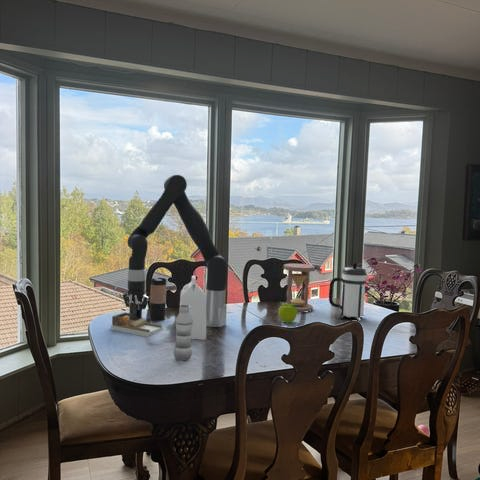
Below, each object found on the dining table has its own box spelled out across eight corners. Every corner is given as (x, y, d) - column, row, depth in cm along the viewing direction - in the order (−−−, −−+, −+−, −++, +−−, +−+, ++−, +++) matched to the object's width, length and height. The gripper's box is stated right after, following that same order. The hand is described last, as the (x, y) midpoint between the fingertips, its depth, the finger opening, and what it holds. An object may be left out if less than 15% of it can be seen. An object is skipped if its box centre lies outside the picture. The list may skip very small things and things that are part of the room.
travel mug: (162, 321, 223) (163, 280, 221) (147, 320, 224) (148, 279, 223) (167, 318, 230) (168, 278, 229) (153, 316, 232) (154, 277, 230)
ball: (126, 313, 213) (125, 322, 213) (120, 315, 209) (119, 324, 210) (133, 315, 211) (132, 324, 212) (127, 317, 207) (126, 326, 208)
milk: (206, 339, 198) (208, 279, 196) (178, 339, 196) (180, 278, 194) (203, 331, 210) (205, 274, 208) (178, 331, 208) (179, 274, 206)
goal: (134, 322, 214) (134, 314, 214) (122, 326, 206) (122, 317, 206) (124, 320, 216) (124, 312, 216) (112, 324, 208) (112, 316, 208)
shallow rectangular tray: (163, 330, 209) (163, 324, 209) (147, 336, 198) (147, 330, 198) (127, 323, 218) (127, 318, 217) (110, 329, 207) (110, 323, 207)
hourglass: (302, 305, 274) (304, 263, 272) (318, 311, 258) (321, 267, 256) (276, 306, 267) (278, 263, 265) (291, 313, 251) (293, 268, 249)
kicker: (144, 324, 210) (145, 302, 210) (134, 328, 204) (135, 305, 203) (135, 322, 212) (136, 301, 212) (125, 326, 206) (126, 304, 205)
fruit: (279, 319, 238) (280, 300, 237) (297, 320, 236) (298, 301, 235) (276, 323, 229) (277, 303, 228) (295, 325, 227) (296, 305, 226)
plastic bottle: (174, 356, 175) (175, 304, 173) (192, 356, 176) (193, 304, 174) (173, 361, 169) (174, 308, 167) (191, 362, 169) (193, 308, 168)
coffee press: (354, 313, 258) (358, 260, 255) (371, 321, 243) (375, 264, 240) (327, 314, 252) (330, 260, 250) (342, 322, 237) (346, 264, 235)
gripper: (154, 279, 207) (153, 317, 208) (129, 276, 213) (128, 313, 214) (144, 282, 200) (143, 321, 202) (118, 278, 206) (117, 316, 208)
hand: (135, 316), depth 208 cm, fingers closed on kicker, 3 cm apart
